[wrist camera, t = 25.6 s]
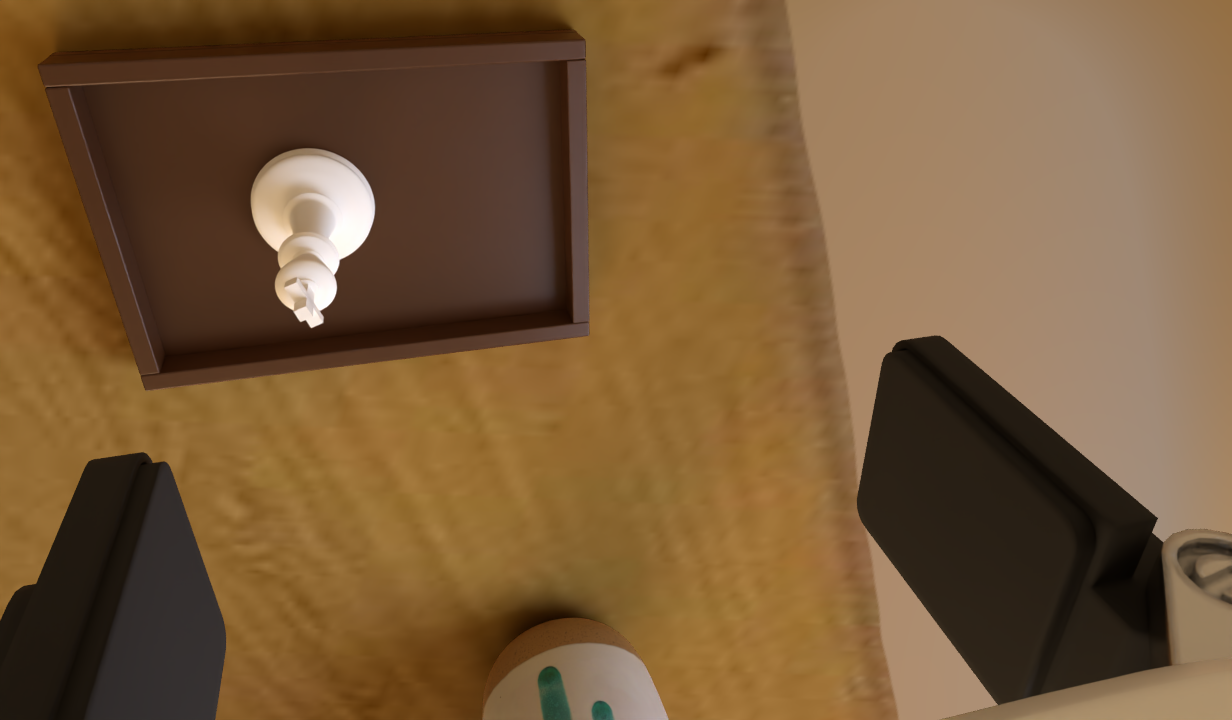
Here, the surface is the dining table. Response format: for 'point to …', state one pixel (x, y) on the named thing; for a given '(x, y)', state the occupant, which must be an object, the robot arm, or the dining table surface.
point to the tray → (380, 149)
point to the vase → (570, 676)
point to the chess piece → (311, 223)
